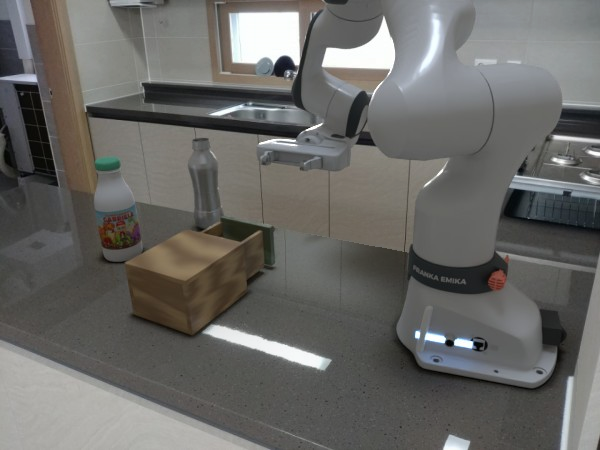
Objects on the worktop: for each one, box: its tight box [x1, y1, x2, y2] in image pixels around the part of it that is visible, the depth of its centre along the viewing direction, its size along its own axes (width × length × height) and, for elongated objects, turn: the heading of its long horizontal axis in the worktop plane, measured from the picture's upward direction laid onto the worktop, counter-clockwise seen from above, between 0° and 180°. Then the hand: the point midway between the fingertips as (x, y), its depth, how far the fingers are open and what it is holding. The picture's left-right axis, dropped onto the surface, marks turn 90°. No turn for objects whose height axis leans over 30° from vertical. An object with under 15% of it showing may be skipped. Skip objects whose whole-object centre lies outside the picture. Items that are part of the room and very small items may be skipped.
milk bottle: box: [93, 156, 144, 263], centre depth 105 cm, size 8×8×20 cm
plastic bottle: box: [187, 137, 225, 230], centre depth 117 cm, size 6×7×20 cm
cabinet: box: [124, 228, 248, 336], centre depth 89 cm, size 15×13×10 cm
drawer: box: [199, 214, 276, 281], centre depth 99 cm, size 18×11×8 cm, turn 150°
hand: (282, 164), depth 108 cm, fingers open, 8 cm apart
